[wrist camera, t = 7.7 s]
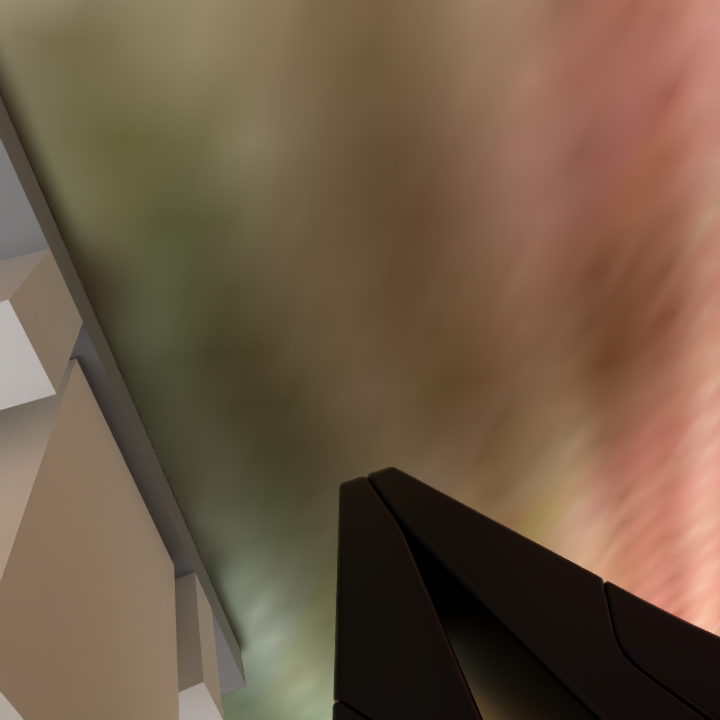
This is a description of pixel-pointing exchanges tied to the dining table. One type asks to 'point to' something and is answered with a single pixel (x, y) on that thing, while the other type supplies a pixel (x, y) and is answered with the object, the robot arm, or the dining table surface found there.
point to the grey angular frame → (89, 346)
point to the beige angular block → (79, 571)
